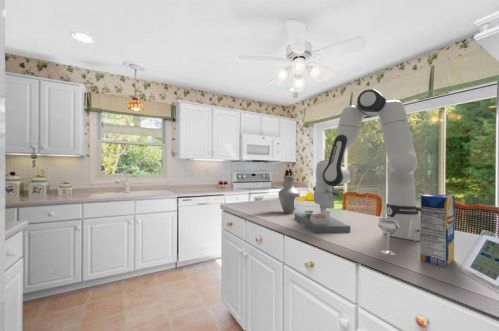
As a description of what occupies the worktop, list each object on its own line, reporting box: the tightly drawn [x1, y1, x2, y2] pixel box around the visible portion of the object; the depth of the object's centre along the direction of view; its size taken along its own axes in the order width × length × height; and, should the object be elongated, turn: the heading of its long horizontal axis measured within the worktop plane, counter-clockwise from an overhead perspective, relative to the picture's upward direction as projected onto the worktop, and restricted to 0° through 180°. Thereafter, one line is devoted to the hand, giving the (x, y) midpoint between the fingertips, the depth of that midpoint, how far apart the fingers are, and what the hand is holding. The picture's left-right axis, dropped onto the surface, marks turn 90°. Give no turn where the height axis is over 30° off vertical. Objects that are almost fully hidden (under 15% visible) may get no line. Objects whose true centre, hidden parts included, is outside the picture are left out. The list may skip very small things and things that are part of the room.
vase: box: [277, 175, 301, 214], centre depth 163 cm, size 14×14×25 cm
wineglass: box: [377, 217, 399, 256], centre depth 88 cm, size 7×7×12 cm
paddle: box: [320, 209, 331, 218], centre depth 131 cm, size 4×2×4 cm, turn 96°
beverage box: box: [419, 193, 456, 268], centre depth 81 cm, size 7×11×22 cm, turn 129°
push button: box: [315, 214, 325, 218], centre depth 120 cm, size 5×5×2 cm
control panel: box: [294, 212, 351, 234], centre depth 130 cm, size 18×32×6 cm, turn 6°
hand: (323, 213), depth 134 cm, fingers closed
